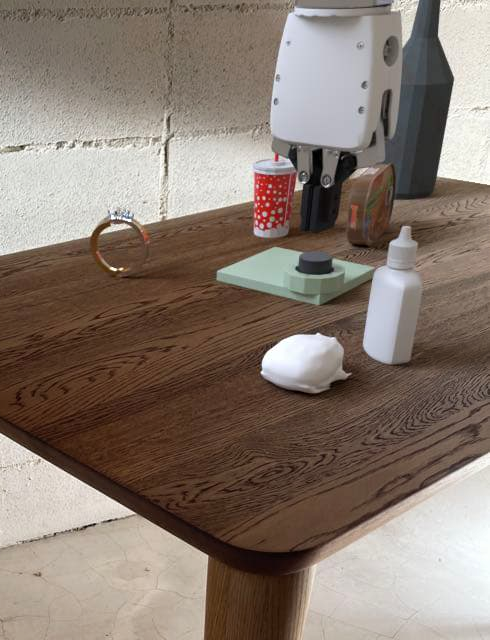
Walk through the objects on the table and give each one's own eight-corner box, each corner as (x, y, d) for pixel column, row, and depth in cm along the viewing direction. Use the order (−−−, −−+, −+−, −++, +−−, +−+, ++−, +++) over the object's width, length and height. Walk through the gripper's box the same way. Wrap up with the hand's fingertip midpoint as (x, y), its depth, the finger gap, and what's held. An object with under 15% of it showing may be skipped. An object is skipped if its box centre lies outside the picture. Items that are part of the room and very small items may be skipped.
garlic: (297, 356, 84) (301, 318, 82) (359, 374, 80) (365, 335, 78) (247, 382, 80) (250, 343, 78) (310, 403, 76) (315, 363, 74)
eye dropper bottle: (408, 345, 85) (431, 219, 78) (409, 368, 81) (433, 237, 74) (362, 342, 86) (381, 217, 80) (360, 364, 82) (380, 235, 75)
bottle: (353, 194, 133) (384, -41, 116) (381, 180, 139) (414, -45, 122) (419, 202, 128) (461, -43, 111) (445, 188, 134) (489, -47, 117)
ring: (151, 276, 106) (151, 207, 101) (142, 284, 103) (141, 214, 99) (98, 270, 108) (96, 204, 104) (88, 278, 106) (85, 210, 101)
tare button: (337, 271, 96) (339, 255, 95) (319, 279, 94) (321, 263, 93) (309, 264, 99) (310, 249, 98) (291, 273, 97) (292, 257, 96)
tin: (363, 254, 109) (372, 183, 104) (338, 251, 111) (346, 181, 106) (392, 223, 120) (403, 157, 115) (369, 221, 121) (378, 156, 116)
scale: (380, 278, 101) (384, 253, 100) (321, 309, 94) (324, 282, 92) (274, 255, 110) (276, 231, 108) (212, 282, 103) (213, 257, 101)
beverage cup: (272, 224, 122) (281, 114, 114) (303, 234, 117) (314, 120, 109) (238, 232, 119) (245, 120, 111) (268, 242, 115) (277, 127, 107)
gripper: (456, -11, 67) (413, 234, 77) (292, -12, 76) (273, 208, 86) (407, -4, 62) (368, 254, 73) (239, -6, 71) (226, 224, 82)
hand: (317, 228), depth 79 cm, fingers closed
